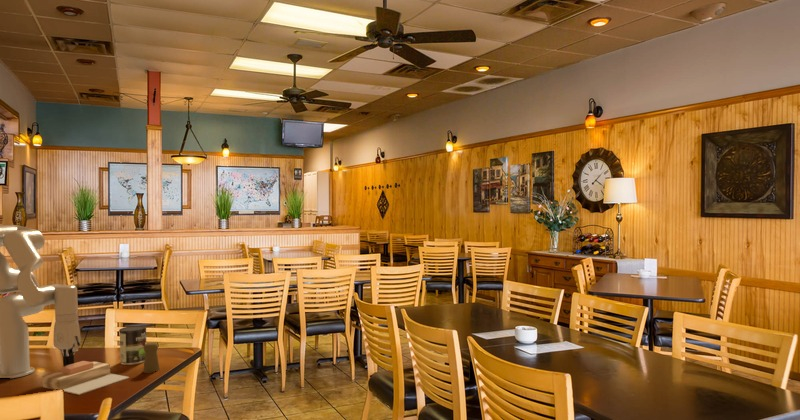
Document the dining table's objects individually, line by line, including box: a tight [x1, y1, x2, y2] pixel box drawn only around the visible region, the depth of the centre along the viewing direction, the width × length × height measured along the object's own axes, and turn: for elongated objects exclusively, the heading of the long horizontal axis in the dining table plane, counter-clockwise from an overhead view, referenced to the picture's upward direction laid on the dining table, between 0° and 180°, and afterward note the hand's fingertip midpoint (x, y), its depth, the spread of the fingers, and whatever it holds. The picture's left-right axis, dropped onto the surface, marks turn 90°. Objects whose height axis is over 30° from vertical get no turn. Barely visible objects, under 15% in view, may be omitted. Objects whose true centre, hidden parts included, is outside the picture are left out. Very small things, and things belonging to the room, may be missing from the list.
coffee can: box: [118, 325, 147, 366], centre depth 235 cm, size 10×10×14 cm
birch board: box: [41, 360, 111, 391], centre depth 211 cm, size 10×20×4 cm, turn 154°
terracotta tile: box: [59, 360, 93, 374], centre depth 211 cm, size 6×9×2 cm, turn 153°
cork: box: [142, 342, 160, 374], centre depth 221 cm, size 6×6×11 cm
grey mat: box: [63, 373, 130, 396], centre depth 206 cm, size 11×20×1 cm, turn 154°
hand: (68, 365), depth 213 cm, fingers closed
